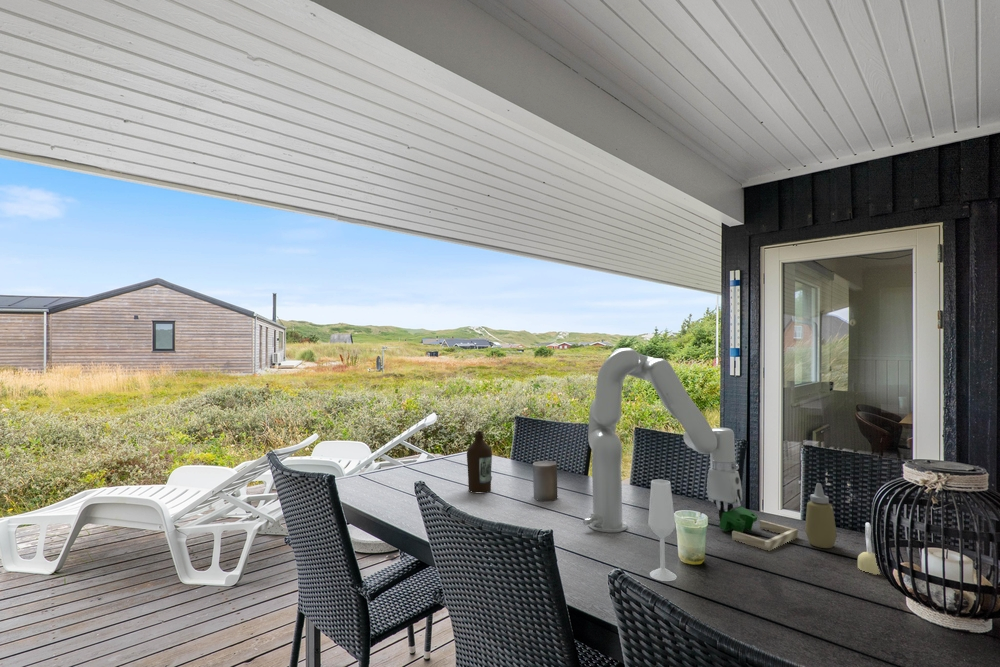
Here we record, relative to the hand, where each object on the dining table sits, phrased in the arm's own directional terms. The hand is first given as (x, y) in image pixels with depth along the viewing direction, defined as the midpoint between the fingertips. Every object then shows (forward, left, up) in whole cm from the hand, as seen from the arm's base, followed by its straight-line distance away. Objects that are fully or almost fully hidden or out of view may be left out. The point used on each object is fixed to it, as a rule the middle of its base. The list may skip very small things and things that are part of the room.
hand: (724, 522), depth 166 cm
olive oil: (-40, +86, -2) cm, 95 cm away
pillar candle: (-25, +61, -2) cm, 66 cm away
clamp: (0, -5, -2) cm, 5 cm away
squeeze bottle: (+8, -26, -2) cm, 27 cm away
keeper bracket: (0, -13, -1) cm, 13 cm away
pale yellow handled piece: (0, -41, -2) cm, 41 cm away
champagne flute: (-46, -11, -2) cm, 48 cm away
